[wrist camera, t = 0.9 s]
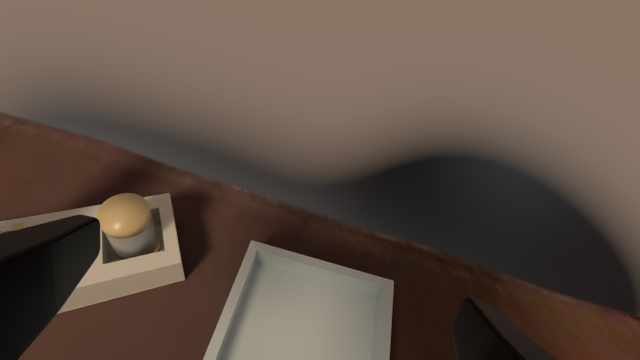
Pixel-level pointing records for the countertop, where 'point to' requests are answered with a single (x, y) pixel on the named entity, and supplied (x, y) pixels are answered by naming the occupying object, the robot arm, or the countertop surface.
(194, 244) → the countertop surface
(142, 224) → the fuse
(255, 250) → the tray
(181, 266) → the fuse block
